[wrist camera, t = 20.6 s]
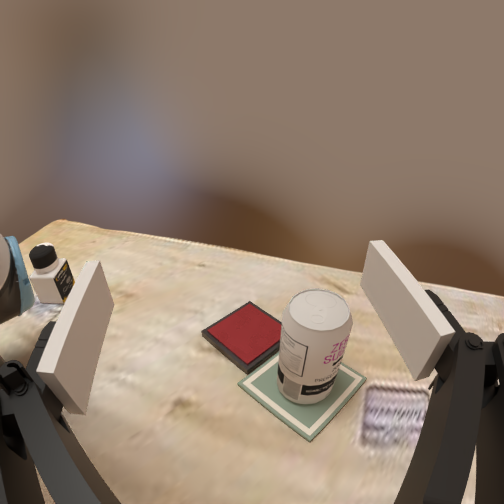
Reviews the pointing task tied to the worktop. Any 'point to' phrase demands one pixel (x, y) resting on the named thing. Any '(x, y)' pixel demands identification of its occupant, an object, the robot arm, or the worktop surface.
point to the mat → (295, 414)
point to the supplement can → (312, 344)
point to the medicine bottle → (50, 275)
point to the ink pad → (246, 336)
